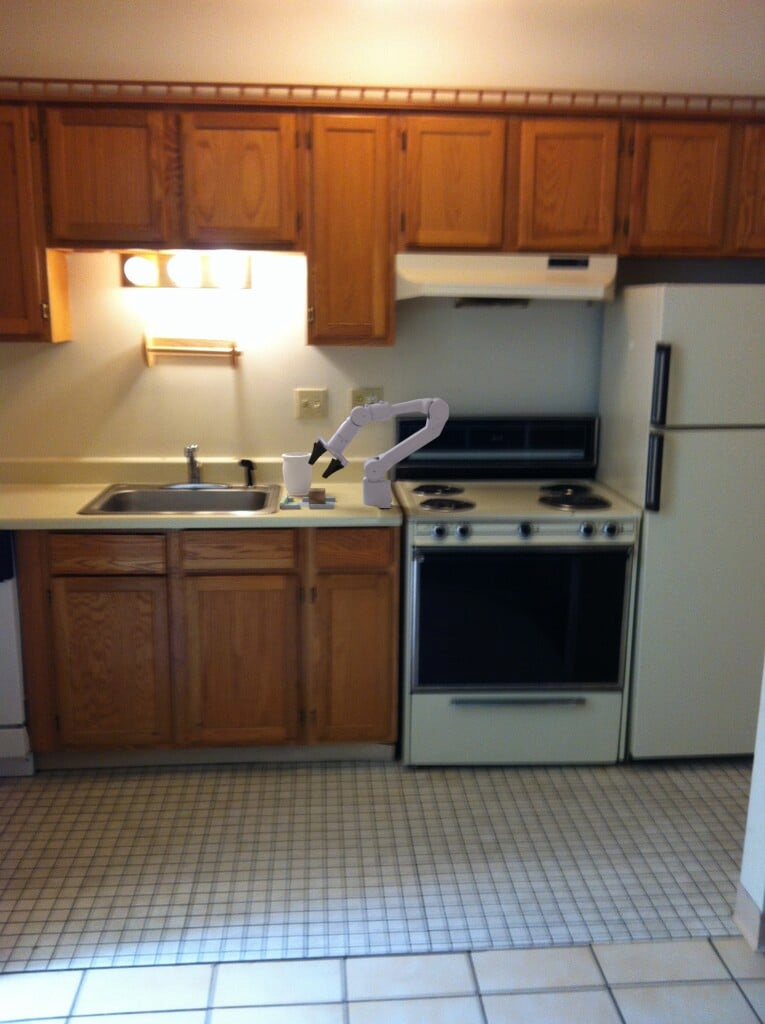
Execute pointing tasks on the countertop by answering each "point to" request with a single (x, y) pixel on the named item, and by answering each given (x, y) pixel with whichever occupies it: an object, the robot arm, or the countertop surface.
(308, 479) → the jar
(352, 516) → the countertop surface
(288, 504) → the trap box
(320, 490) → the walnut block
